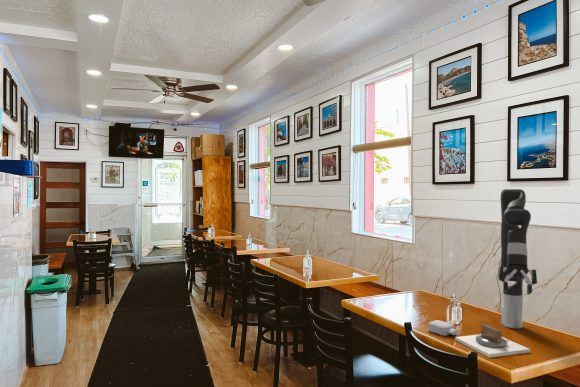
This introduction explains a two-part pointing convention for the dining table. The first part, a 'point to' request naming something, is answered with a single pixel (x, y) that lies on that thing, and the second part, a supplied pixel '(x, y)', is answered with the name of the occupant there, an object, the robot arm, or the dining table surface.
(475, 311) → the dining table surface
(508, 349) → the dial plate
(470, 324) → the dining table surface
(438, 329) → the grey elongated piece
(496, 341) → the dial
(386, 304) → the dining table surface
